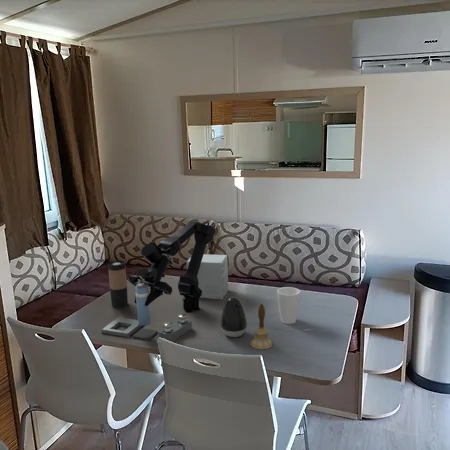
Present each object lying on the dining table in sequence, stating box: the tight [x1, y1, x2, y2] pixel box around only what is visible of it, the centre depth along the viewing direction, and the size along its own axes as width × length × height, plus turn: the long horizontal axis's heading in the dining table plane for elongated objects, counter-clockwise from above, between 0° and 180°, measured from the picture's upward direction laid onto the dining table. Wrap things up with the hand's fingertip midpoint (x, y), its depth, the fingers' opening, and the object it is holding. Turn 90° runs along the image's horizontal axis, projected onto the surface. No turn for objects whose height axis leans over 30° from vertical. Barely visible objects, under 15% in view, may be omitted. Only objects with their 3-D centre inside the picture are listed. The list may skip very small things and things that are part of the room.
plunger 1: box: [162, 321, 173, 334], centre depth 173 cm, size 4×4×4 cm
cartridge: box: [134, 283, 151, 326], centre depth 174 cm, size 5×5×16 cm
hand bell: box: [249, 303, 273, 351], centre depth 166 cm, size 8×8×16 cm
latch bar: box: [157, 319, 193, 342], centre depth 177 cm, size 14×5×3 cm, turn 148°
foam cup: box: [276, 286, 301, 325], centre depth 186 cm, size 10×9×13 cm
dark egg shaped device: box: [220, 296, 248, 338], centre depth 175 cm, size 10×10×15 cm
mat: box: [132, 327, 159, 341], centre depth 177 cm, size 7×7×1 cm
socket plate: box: [101, 316, 143, 338], centre depth 183 cm, size 12×12×2 cm
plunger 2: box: [177, 313, 188, 324], centre depth 181 cm, size 4×4×4 cm
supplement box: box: [186, 253, 229, 300], centre depth 217 cm, size 17×13×18 cm
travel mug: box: [107, 260, 129, 308], centre depth 205 cm, size 8×8×20 cm
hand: (140, 304), depth 173 cm, fingers closed on cartridge, 5 cm apart
